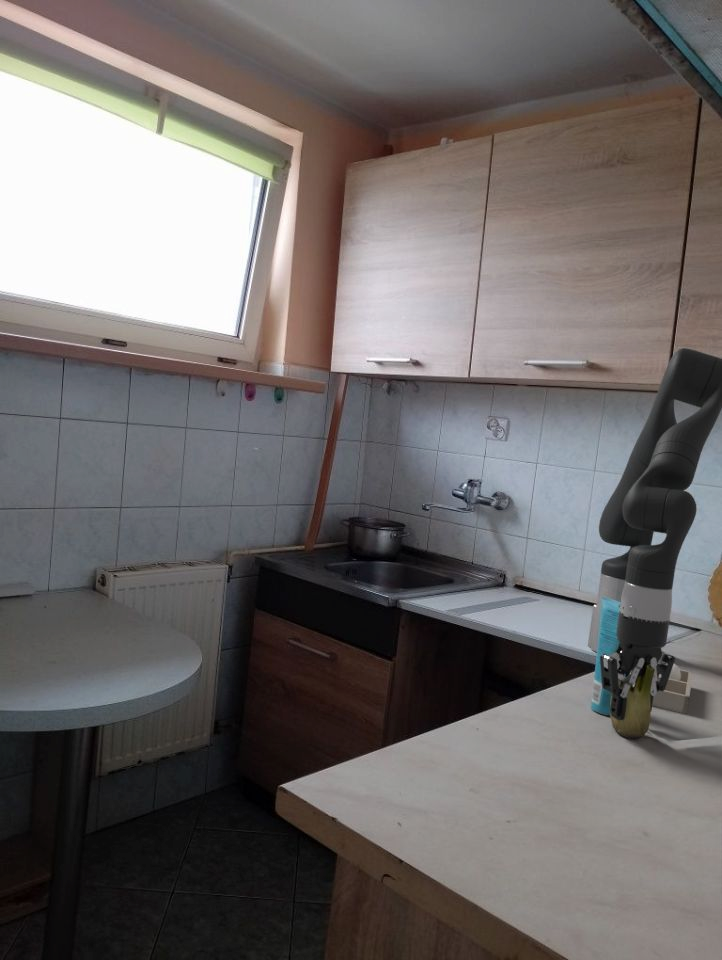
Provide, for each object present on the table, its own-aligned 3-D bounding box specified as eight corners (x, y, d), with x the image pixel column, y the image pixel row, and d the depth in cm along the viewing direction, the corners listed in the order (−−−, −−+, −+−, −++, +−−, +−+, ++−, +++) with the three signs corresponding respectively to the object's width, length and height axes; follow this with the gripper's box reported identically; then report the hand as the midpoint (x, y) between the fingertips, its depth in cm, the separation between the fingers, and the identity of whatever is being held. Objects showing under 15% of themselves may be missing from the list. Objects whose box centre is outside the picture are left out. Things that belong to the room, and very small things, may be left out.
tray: (641, 681, 150) (643, 661, 150) (689, 692, 146) (692, 672, 146) (632, 706, 134) (635, 684, 134) (686, 719, 131) (689, 697, 130)
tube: (631, 716, 129) (647, 606, 128) (616, 721, 126) (631, 608, 125) (594, 701, 135) (608, 595, 133) (578, 705, 132) (592, 597, 130)
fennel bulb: (602, 728, 122) (612, 656, 121) (624, 725, 125) (634, 654, 124) (630, 743, 117) (641, 668, 116) (652, 740, 120) (663, 666, 119)
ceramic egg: (643, 683, 145) (647, 657, 145) (663, 682, 147) (667, 656, 147) (664, 693, 140) (668, 666, 140) (685, 692, 143) (689, 665, 142)
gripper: (659, 606, 126) (645, 705, 127) (593, 606, 120) (578, 710, 121) (696, 619, 119) (681, 723, 120) (627, 619, 113) (612, 730, 114)
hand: (629, 716), depth 121 cm, fingers closed on fennel bulb, 4 cm apart
